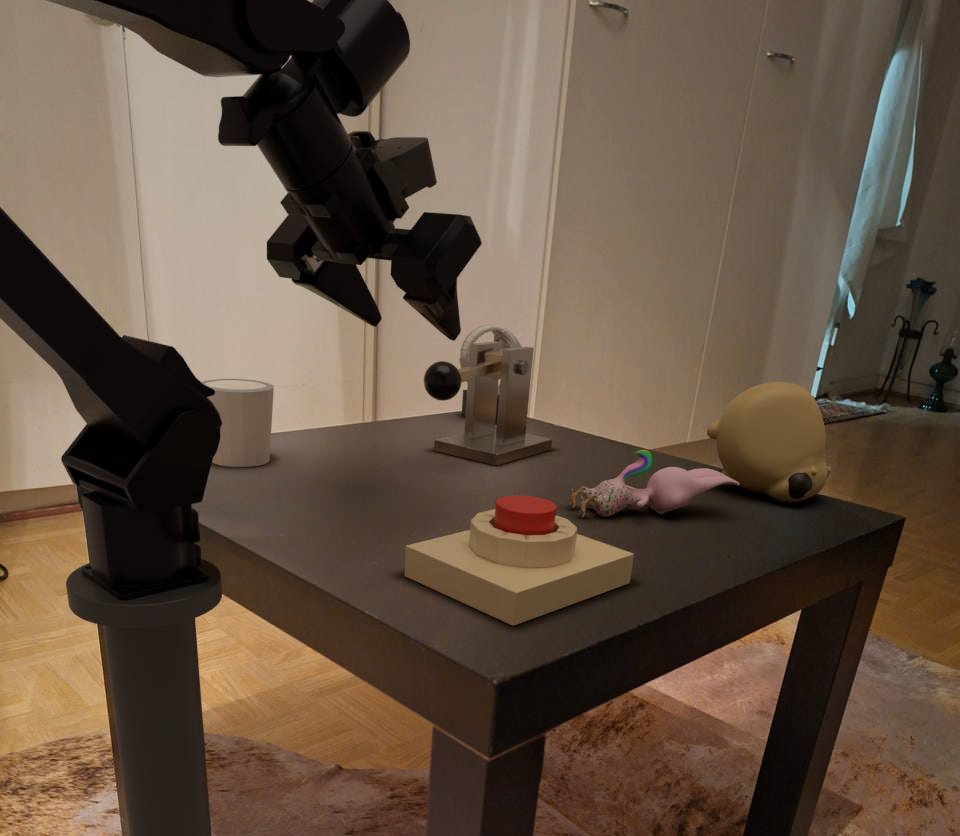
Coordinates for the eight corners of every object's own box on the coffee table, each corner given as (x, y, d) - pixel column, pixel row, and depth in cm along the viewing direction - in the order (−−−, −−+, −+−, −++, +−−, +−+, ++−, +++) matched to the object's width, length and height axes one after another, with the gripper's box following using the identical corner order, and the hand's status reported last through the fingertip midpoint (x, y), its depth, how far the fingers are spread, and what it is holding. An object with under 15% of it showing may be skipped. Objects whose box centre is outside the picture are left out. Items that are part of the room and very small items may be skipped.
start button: (526, 543, 55) (528, 516, 54) (481, 526, 58) (483, 500, 57) (566, 532, 58) (569, 506, 57) (521, 516, 60) (524, 491, 59)
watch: (526, 422, 109) (534, 330, 104) (469, 424, 105) (475, 328, 100) (503, 413, 113) (511, 324, 108) (448, 415, 109) (454, 322, 105)
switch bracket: (496, 465, 88) (505, 354, 83) (433, 450, 91) (438, 343, 87) (551, 449, 96) (562, 347, 91) (491, 436, 100) (499, 338, 95)
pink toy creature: (589, 539, 72) (752, 510, 75) (587, 470, 70) (756, 442, 72) (564, 517, 78) (717, 490, 80) (561, 451, 75) (720, 426, 78)
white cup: (186, 461, 81) (180, 383, 78) (231, 447, 87) (228, 375, 84) (248, 472, 79) (244, 393, 76) (290, 457, 84) (289, 384, 81)
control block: (513, 626, 52) (519, 564, 50) (404, 576, 58) (406, 519, 57) (630, 583, 60) (638, 528, 58) (523, 543, 66) (528, 492, 65)
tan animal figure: (736, 536, 84) (834, 483, 76) (677, 428, 84) (768, 364, 77) (778, 514, 91) (872, 464, 83) (723, 414, 91) (812, 355, 83)
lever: (446, 406, 81) (446, 367, 80) (416, 400, 83) (415, 362, 81) (521, 381, 91) (523, 346, 89) (493, 376, 93) (494, 341, 91)
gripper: (477, 80, 57) (552, 269, 70) (296, 88, 68) (389, 252, 80) (386, 199, 55) (481, 373, 67) (212, 189, 65) (322, 341, 78)
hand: (415, 329), depth 73 cm, fingers open, 9 cm apart
